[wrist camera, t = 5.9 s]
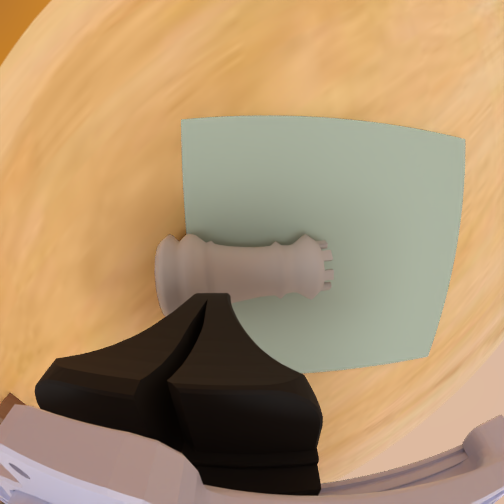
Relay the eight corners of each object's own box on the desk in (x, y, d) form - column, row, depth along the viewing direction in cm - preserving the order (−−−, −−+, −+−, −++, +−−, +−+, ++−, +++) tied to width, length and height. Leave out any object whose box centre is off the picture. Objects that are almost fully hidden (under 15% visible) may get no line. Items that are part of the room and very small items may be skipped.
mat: (424, 352, 19) (427, 356, 19) (204, 369, 19) (203, 374, 19) (459, 139, 14) (465, 139, 14) (183, 120, 14) (181, 119, 14)
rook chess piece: (169, 231, 16) (311, 219, 16) (179, 308, 17) (315, 295, 17) (147, 239, 12) (339, 222, 12) (163, 340, 12) (341, 322, 13)
